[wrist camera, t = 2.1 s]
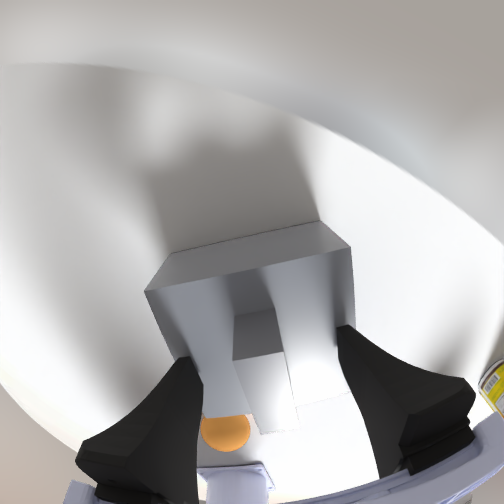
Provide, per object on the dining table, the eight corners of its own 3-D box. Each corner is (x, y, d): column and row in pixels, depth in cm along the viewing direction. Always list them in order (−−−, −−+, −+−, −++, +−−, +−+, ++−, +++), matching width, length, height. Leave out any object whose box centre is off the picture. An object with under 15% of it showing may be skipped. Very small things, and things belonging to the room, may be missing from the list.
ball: (254, 421, 21) (255, 456, 18) (211, 425, 22) (208, 460, 18) (243, 394, 20) (243, 433, 16) (196, 399, 20) (190, 437, 16)
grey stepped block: (334, 342, 19) (370, 428, 11) (212, 367, 19) (201, 457, 12) (320, 220, 16) (381, 275, 8) (170, 253, 16) (118, 329, 9)
